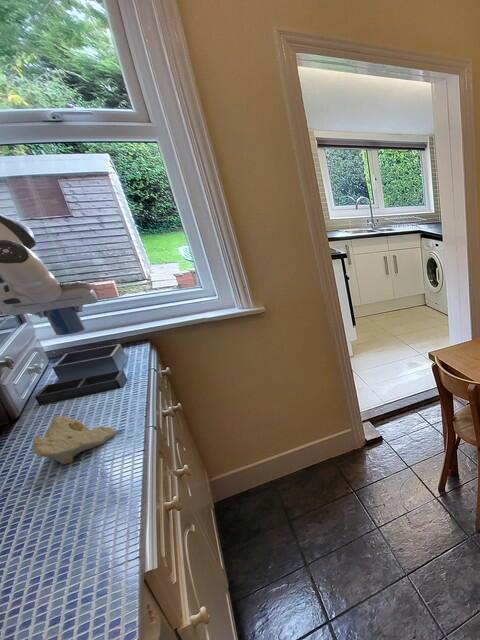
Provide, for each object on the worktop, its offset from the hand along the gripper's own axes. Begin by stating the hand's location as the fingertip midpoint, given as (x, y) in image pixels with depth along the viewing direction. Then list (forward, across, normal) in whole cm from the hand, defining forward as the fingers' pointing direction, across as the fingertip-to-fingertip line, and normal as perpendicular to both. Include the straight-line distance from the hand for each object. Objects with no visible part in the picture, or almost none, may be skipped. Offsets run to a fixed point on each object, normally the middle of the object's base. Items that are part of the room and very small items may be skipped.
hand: (61, 313), depth 129 cm
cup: (+4, 0, +5) cm, 6 cm away
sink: (+17, -1, +13) cm, 21 cm away
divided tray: (+2, 0, +28) cm, 28 cm away
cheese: (-31, -4, +61) cm, 68 cm away
